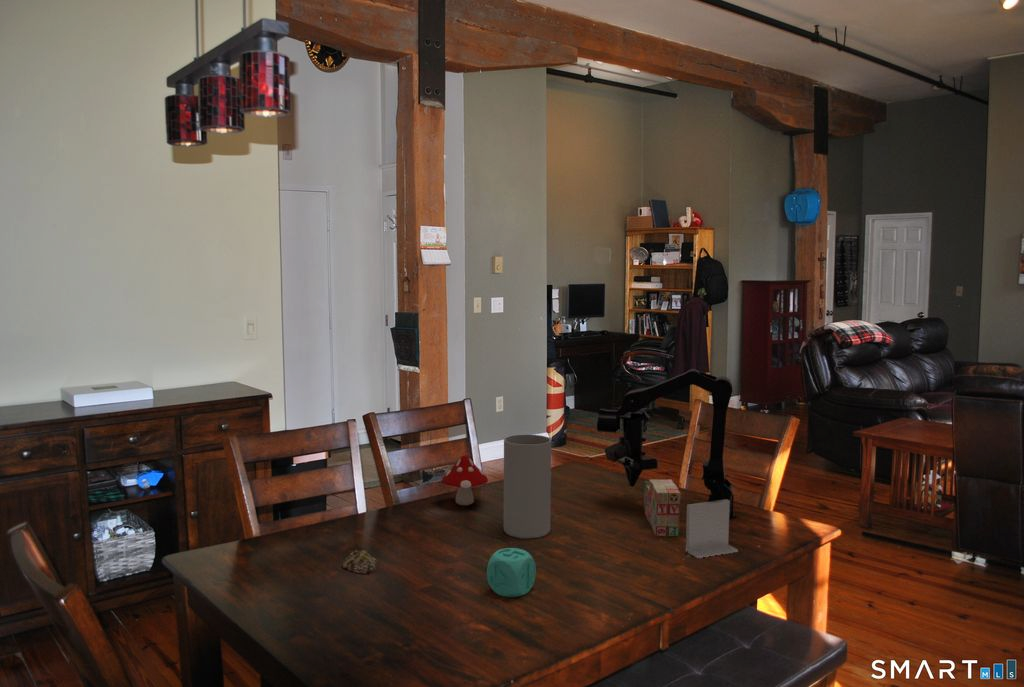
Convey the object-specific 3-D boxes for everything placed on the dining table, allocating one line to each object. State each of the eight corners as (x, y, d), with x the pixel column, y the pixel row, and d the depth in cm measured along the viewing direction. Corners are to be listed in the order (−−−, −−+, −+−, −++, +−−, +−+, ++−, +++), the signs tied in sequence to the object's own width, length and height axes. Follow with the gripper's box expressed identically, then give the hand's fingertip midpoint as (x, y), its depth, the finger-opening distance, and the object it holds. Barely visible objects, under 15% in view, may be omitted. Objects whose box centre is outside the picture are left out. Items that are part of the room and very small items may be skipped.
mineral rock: (335, 554, 181) (366, 539, 185) (340, 570, 182) (370, 555, 186) (351, 571, 172) (383, 555, 176) (356, 587, 173) (387, 571, 177)
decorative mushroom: (486, 512, 220) (486, 461, 218) (438, 512, 220) (438, 461, 219) (488, 498, 234) (489, 450, 232) (443, 497, 234) (443, 449, 233)
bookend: (725, 545, 195) (726, 499, 194) (737, 551, 190) (739, 505, 189) (685, 551, 190) (687, 504, 189) (697, 558, 186) (699, 510, 184)
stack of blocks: (643, 511, 222) (644, 470, 221) (664, 512, 222) (665, 470, 221) (655, 537, 201) (656, 491, 200) (679, 537, 201) (680, 491, 199)
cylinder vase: (496, 535, 201) (496, 442, 198) (513, 521, 212) (514, 433, 210) (540, 542, 196) (541, 446, 194) (556, 527, 208) (557, 436, 205)
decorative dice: (517, 600, 162) (517, 563, 161) (485, 592, 166) (486, 556, 165) (536, 587, 168) (536, 552, 168) (505, 579, 173) (505, 545, 172)
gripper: (593, 429, 229) (592, 480, 230) (625, 442, 212) (624, 497, 213) (625, 427, 233) (624, 477, 235) (659, 439, 216) (658, 493, 217)
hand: (631, 486), depth 225 cm, fingers closed
